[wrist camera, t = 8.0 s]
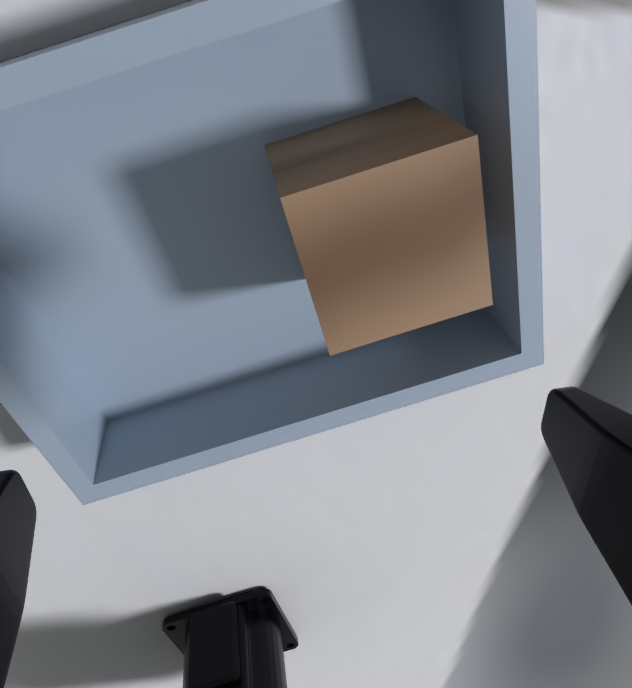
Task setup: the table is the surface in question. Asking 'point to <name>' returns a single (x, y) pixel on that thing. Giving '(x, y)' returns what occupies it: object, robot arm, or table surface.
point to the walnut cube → (386, 221)
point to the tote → (236, 227)
